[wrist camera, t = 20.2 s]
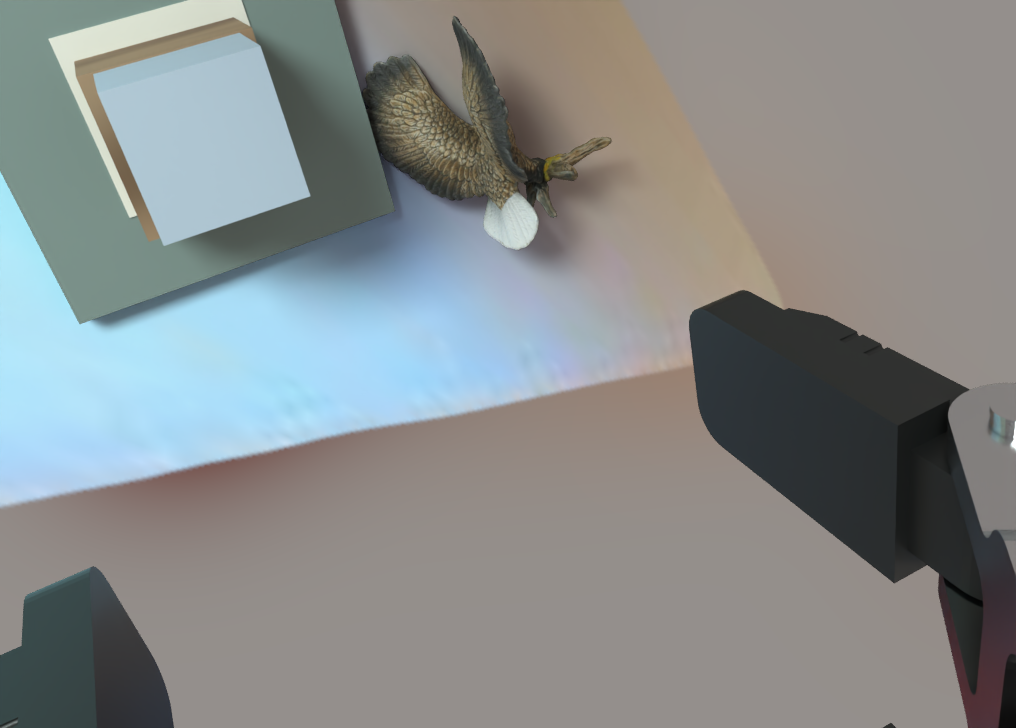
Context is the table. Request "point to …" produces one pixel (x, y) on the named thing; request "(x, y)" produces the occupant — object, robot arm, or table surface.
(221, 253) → the board
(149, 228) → the walnut brick
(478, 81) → the eagle figurine
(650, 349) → the table surface
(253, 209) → the blue-grey brick
